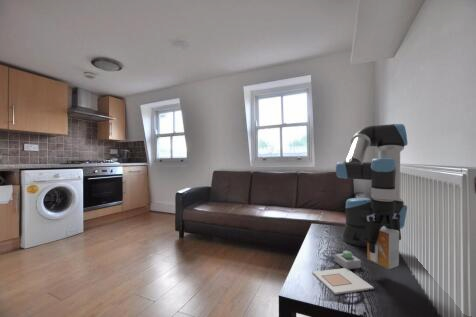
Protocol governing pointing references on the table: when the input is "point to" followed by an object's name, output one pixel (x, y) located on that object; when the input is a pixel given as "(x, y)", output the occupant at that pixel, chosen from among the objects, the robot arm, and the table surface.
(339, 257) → the button box
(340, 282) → the sheet
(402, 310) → the table surface
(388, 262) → the small box
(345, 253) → the button
